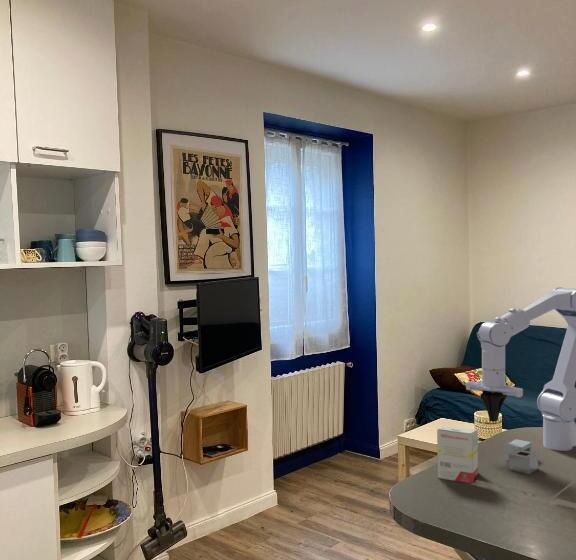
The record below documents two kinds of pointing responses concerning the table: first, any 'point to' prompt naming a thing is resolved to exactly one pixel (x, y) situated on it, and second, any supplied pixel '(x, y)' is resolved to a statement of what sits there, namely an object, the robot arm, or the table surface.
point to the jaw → (523, 461)
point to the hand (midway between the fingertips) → (493, 420)
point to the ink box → (457, 453)
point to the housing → (517, 447)
